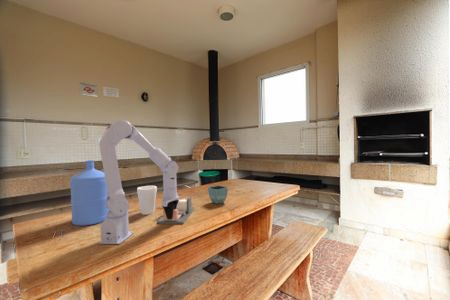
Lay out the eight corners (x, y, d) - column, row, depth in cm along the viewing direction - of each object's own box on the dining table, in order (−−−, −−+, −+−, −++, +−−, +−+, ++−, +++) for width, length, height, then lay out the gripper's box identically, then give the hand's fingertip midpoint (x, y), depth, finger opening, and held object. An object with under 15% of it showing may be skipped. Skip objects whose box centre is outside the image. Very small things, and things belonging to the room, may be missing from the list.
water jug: (117, 217, 100) (115, 159, 99) (80, 229, 87) (77, 162, 86) (101, 212, 108) (99, 159, 107) (65, 222, 95) (63, 161, 94)
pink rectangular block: (176, 220, 90) (176, 210, 90) (163, 220, 91) (163, 210, 91) (183, 213, 100) (183, 204, 100) (171, 212, 101) (171, 204, 101)
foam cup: (150, 216, 101) (150, 189, 100) (134, 215, 103) (133, 189, 102) (160, 210, 110) (160, 185, 110) (145, 209, 112) (144, 185, 111)
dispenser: (183, 223, 90) (182, 205, 90) (156, 223, 91) (156, 205, 91) (194, 209, 110) (194, 194, 110) (172, 209, 111) (172, 194, 111)
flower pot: (219, 199, 128) (219, 185, 128) (228, 202, 121) (228, 187, 121) (207, 202, 123) (207, 187, 122) (216, 205, 116) (215, 189, 115)
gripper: (173, 191, 84) (174, 224, 84) (183, 184, 98) (184, 212, 99) (156, 191, 84) (157, 223, 85) (169, 184, 99) (170, 212, 99)
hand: (170, 217), depth 92 cm, fingers closed on pink rectangular block, 2 cm apart
